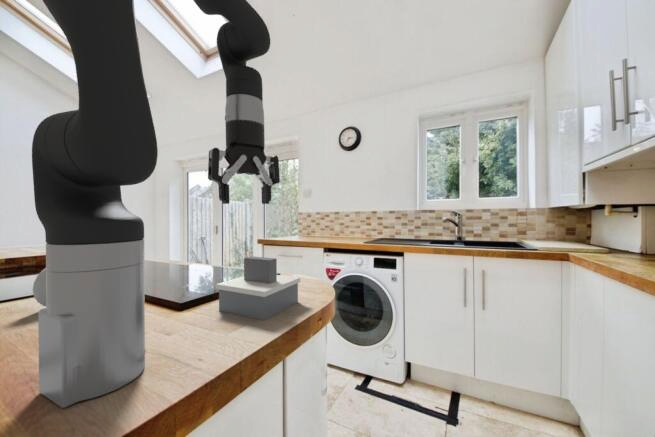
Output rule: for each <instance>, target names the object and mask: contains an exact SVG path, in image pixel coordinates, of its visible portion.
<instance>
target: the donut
mask: <svg viewBox="0 0 655 437" xmlns="http://www.w3.org/2000/svg"><path fill="white" fill-rule="evenodd" d="M32 294H33V298H34V299H35V300H36V302H37V303H39V304H40V305H41V306H43V307H46V267H45V268H43V269H42V270H41V271H40V272H39V273H38V275H36V277H35V280H34V282H33V285H32Z"/></svg>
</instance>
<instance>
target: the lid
mask: <svg viewBox="0 0 655 437" xmlns="http://www.w3.org/2000/svg"><path fill="white" fill-rule="evenodd" d="M277 271H278V270H277V258H276V257H275V258H273V257H264V256H263V257H262V256H254V255H253V256H252V255H251V256H248V257H244V258H243V275H244V276H240V277H236V278H233V279H230V280H226V281H222V282H219V283H216V284H215V288H216V290H219V289H220V290H226V291H232V292H238V293H243V294H249V295H255V296H261V297H266V296H268V295H271V294H273V293H275V292H278V291H280V290H282V289H285V288H287V287H289V286H292V285H294V284H297V283H298V284H299V283H300V282H301V277H298V276H289V275H282V274H278V273H277Z"/></svg>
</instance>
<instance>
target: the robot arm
mask: <svg viewBox="0 0 655 437" xmlns="http://www.w3.org/2000/svg"><path fill="white" fill-rule="evenodd" d="M192 1H193V2H194V3H195V5H196V7H198V8H199V10H200V11H201V12H202V13H203V14H205V15H208V16H214V15H215V16H218V15H219V16H222V17H223V18H224V19H226V21H227V22H225V23H223V24H222V25H221V26H220V27H219V28H218V32H217V35H216V47H217V52H218V55H219V59H220V62H221V66H222V70H223V73H224V76H225V96H226V97H225V108H224V110H225V113H224V121H225V123H224V124H225V150H221V149H220V148H218V147H213V148H211V149H210V150H208V163H207V164H208V165H207V166H208V167H207V179H208V181H209V182H210V181H212V182H215V183H216V184H217V185H218V199H219V201H220V202H221V203H222V204H223V205H229V204H230V184H228V183H229V182H230V181H231V179H232V178H233V176H235V175H242V174H243V175H244V174H245V175H248V176H249V175H250V176H251V175H252V176H253V175H254V176H255V178H256V179H258V181H259V182H260V184H261V185H262V186H261V204H262V205H269V204H270V202H271V201H272V186H274V185H277V184H279V183H280V182H281V180H280V165H279V164H280V163H279V156H277V155H272V156H270V155H269V156H268V155H266V154H265V146H266V145H265V113H264V112H265V111H264V103H263V101H264V100H263V99H264V98H263V96H264V95H263V78H262V76H261V73H260V72H259V71H258V70H257V69H256V68H254V67H251V66H248V65H247V61H250V60H253V59H256V58H259V57H262V56H264V55H266V54H267V53H268V52H269V50H270V47H271V36H270V32H269V28H268V26H267V24H266V23H265V20H264V19H263V17H261V15H260V14H259V13H258V12H257V10H255V8H254V7H253V6H252V5H251V4H250V2H248V1H247V0H192ZM42 2H43V3H44V5H45V8H47V9H48V11H49V13H50V15H51V16H52V17H53V19H54V20H55V22H56V24H57V25H58V27H60V30H61V31H62V33H63V34H64V36H65V38H66V40H67V42H68V45H69V46H70V47H69V48H70V50H71V53H72V57H73V62H74V66H75V73H76V79H77V80H76V81H77V88H78V90H77V91H78V109H75V110H67V111H62V112H58V113H54V114H52V115H49V116H47V117H46V118H44V119H43V120H42V121H41V122H40V123H39V124H38V126H37V127H36V128H35V131H34V133H33V138H32V144H31V164H32V165H31V166H32V179H33V180H32V181H33V182H32V183H33V194H34V197H33V198H34V206H35V213H36V215H37V217H38V220H39V221H40V223H41V225H42V226H43V229H44V232H45V268H46V306H45V307H46V308H45V307H44V308H41V309H39V311H38V316H37V318H38V319H37V322H38V392H39V393H40V394H41V395H43V396H44V397H46V398H47V399H48V400H50V401H52V402H53V403H54V404H56V406H57V405H58V406H59V407H60V408H61V409H63V408H67V407H70V406H71V405H73V404H75V403H78V402H79V403H80V402H81V401H82V402H83V401H86V400H90V399H94V398H97V397H100V396H103V395H106V394H108V393H110V392H113V391H116V390H117V389H120V388H122V387H124V386H126V385H127V384H129V383H131V382H132V381H134V380H135V379H136V378H137V377H139V376H140V375H141V373H142V372H143V371H144V369H145V366H146V365H145V364H146V361H145V360H146V346H145V344H146V336H145V335H146V334H145V333H146V332H145V331H146V330H145V329H146V328H145V324H146V323H145V322H146V321H145V320H146V319H145V314H146V311H145V307H146V306H145V302H146V301H145V224H144V221H143V218H141V217H140V216H138V215H136V214H134V213H133V212H132V211H130V210H129V209H128V208H126V205H125V203H123V200H122V199H123V198H122V190H121V187H123V186H124V187H125V186H134V185H137V184H141V183H144V182H145V181H146V180H148V179H149V178H150V177H151V176H152V174H153V173H154V171H155V169H156V166H157V162H158V155H159V154H158V153H159V152H158V141H157V134H156V129H155V125H154V120H153V116H152V111H151V110H152V109H151V107H150V105H151V104H150V102H149V97H148V93H147V87H146V82H145V79H144V78H145V77H144V72H143V66H142V59H141V50H140V44H139V36H138V29H137V19H136V12H135V9H136V8H135V0H42ZM223 157H224V159H225V161H226V162H227V163H228V166H227V167H226V168H225V170H224V171H223V173H222V174H221V175H220V173H219V172H220V162H221V161H222V160H223ZM265 163H266V166H267V167H268V172H267V170H266V168H265V167H264V165H265Z"/></svg>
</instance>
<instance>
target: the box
mask: <svg viewBox="0 0 655 437" xmlns="http://www.w3.org/2000/svg"><path fill="white" fill-rule="evenodd" d="M298 291H299V283H297V284H294V285H292V286H289V287H287V288H285V289H282V290H280V291H278V292H275V293H273V294H271V295H268V296H266V297H261V296H255V295H249V294H243V293H238V292H232V291H226V290H220V289H218V311H219V312H223V313H224V312H225V313H229V314H233V315H238V316H243V317H247V318H251V319H256V320H261V321H266V320H267V319H269V318H271V317H273V316H275V315H277V314H279V313H281V312H282V311H284V310H286V309H288V308H290V307H291V306H293V305H295V304H297V303H298V302H299V297H298V296H299V292H298Z"/></svg>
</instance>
